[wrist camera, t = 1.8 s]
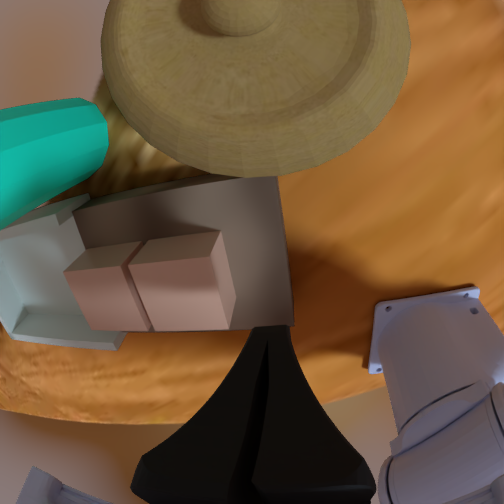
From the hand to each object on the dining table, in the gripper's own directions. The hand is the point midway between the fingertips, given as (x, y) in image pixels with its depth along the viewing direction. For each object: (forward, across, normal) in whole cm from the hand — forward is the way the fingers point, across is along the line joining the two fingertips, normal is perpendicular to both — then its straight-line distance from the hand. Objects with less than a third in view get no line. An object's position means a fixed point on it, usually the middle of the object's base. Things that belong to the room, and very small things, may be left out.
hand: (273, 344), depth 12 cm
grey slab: (+9, +6, 0) cm, 11 cm away
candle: (+9, +12, -10) cm, 18 cm away
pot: (+9, -1, -12) cm, 15 cm away
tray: (+9, +20, 0) cm, 22 cm away
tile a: (+7, +5, 0) cm, 8 cm away
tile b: (+7, +10, 0) cm, 12 cm away
